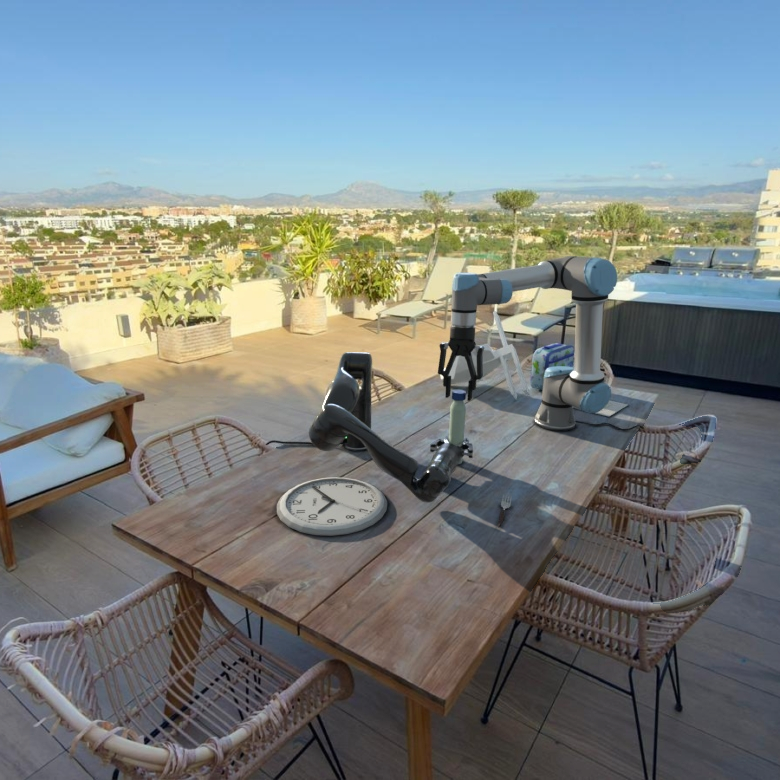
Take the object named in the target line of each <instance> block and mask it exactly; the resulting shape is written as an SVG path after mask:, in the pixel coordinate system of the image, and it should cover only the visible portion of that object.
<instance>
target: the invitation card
mask: <svg viewBox="0 0 780 780" xmlns="http://www.w3.org/2000/svg"><path fill="white" fill-rule="evenodd" d="M628 406H629V404H627V403H623V402H618V401H614V400H609V402H608V403H607V405H606V406H605V407H604V408H603V409H602V410H601V411H599V412H597V413H595V414H596V415H600V416H604V417H608V418H609V417H611V416H613V415H614V414H616V413H617V412H619V411H621V410H623V409H624V408H626V407H628ZM573 409H575V410H579V409H578V408H575V407H573Z"/></svg>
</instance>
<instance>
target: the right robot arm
mask: <svg viewBox="0 0 780 780" xmlns="http://www.w3.org/2000/svg"><path fill="white" fill-rule="evenodd" d="M617 283H618V272H617V269H616V266H615V265H614V264H613V262H611V261H610V260H609V259H607V258H601V257H596V256H595V257H593V256H578V255H577V256H576V255H569V256H562V257H558V258H553V259H548V260H543V261H540V262H539V263H538V264H536V265H530V266H529V265H528V266H524V267H523V266H522V267H516V268H511V269H503V270H498V271H491V272H484V273H475V272H457V273H455V274H454V275H453V278H452V283H451V284H452V285H451V309H450V313H451V314H450V325H451V326H450V327H449V339H448V341H447V342H441V343H439V350H440V353H439V360H438V368H437V374H438V375H439V376H440V375H442V376H443V381H442V386H443V387H444V388H445V398H446V399H448V398H449V397H450V396H451V389H452V384H451V376H449V373H450V371H451V368H452V366H453V363H454V361H455V358H456V356H463V357H465V359H466V362H467V365H468V369H469V373H470V376H471V379H470V380H469V382H468V386H467V402H471V401H472V399H473V391H475V390H476V389H477V383H476V380H478V379H481V378H482V377H483V356H482V354H483V351H484V347H483V346H481V347H480V346H478V345H477V344H476V327H475V325H476V324H477V323H476V322H477V309H478V306H488V305H498V306H500V305H503V304H508V303H510V301H511V300H512V297H513V293H514V292H518V291H519V292H520V291H525V290H531V289H538V288H541V289H543V290H549V289H558V290H565V291H569V292H571V301H573V303H574V304H575V326H574V327H575V332H574V333H575V334H574V363H573V367H567V366H555V367H549V368H547V369H546V370H545V375H544V379H543V390H541V391H542V392H541V402H540V405H539V407H538V410H537V411H536V413H535V416H534V424H535V425H536V426H537V427H539V428H542V429H544V430H549V431H556V432H567V431H572V430H574V429H575V428H576V423H577V424H584V425H588V426H592V427H598V426H603V425H606V426H611V427H612V428H615V429H617V430H620V431H631V430H633V429H635V428H640V429H641V430H642V429H643V430H645V428H644V426H642V425H641V424H635V425H634V426H632V427H628V428H623V427H620V426H617V425H615V424H613V423H609V422H600V423H592V422H587V421H580V420H576V418H575V417H576V416H575V413H574V409H576V408H578V409H577V410H580V411H581V412H583V413H584V412H586V413H588V414H596V413H597V412H599V411H601V410H602V409H603V408H604V407H605V406H606V405H607V403H608V402H609V400H610V399H611V396H612V388H611V387H610V386H609V384H608V383H606V382H605V373H604V372H603V371H602V370H601V361H602V360H601V357H602V339H603V338H602V335H603V313H604V312H603V311H604V303H605V302H606V301H608V299H609V295H610V294H611V293H612V292H614V290H615V287H616V286H617ZM448 349H450V350H451V352H452V353H450V356H449V359H448V361H447V364H446V359H447V350H448ZM473 349H475V350H476V353H477V375H476V371H475V367H474V364H473V360H472V354H471V352H472V351H473ZM445 365H446V367H445ZM444 368H446V369H445V371H444ZM483 378H484V377H483ZM610 401H611V400H610ZM574 407H575V408H574Z"/></svg>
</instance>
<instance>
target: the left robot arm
mask: <svg viewBox="0 0 780 780" xmlns="http://www.w3.org/2000/svg"><path fill="white" fill-rule="evenodd" d="M372 376H373V356H372V354H371V353H369V352H364V351H363V352H361V351H357V352H356V351H346V352H344V353H342V355H341V356H340V358H339V361H338V364H337V368H336V371H335V375H334V377H333V379H332V381H331V382H330V384H329V387H328V388H327V391H326V393H325V397H324V399H323V402H322V405H321V407H320V408H321V409H320V411H319V412H318V414H317V415H316V417H315V419H314V420H313V421H312V423H311V424H310V426H309V429H308V430H309V431H308V437H309V440H310V441H281V440H277V439H276V440H275V439H274V440H273V439H272V440H270V441H267V442H266V443H265V446H269V445H270V444H272V443H273V444H274V443H275V444H282V445H311V446H314V447H315V448H317V449H318V450H320V451H323V452H331V451H334V450H336V449H338V448H339V447H340V446H341V445H342V448H345V449H346V450H349V451H353V452H354V451H355V452H361V451H367V452H368V454H369V455H370V457H371V459H372V461H373V462H374V464H375V465H376V466H377V467H378V468H379V469H380V470H381V471H382V472H384V474H387V475H389V476H390V477H392V478H394V479H395V480H397V481H399V482H400V483H401V484H403V485H404V486H405V487H406V488H407V489H408V490H409V492H410V493H412V495H413V496H414V497H415V498H417V500H419V501H421V502H422V503H426V504H427V503H428V504H429V503H433V502H435V500H437V498H438V497H439V496H440V495H441V494H442V493H443V492H444V491H445V489H447V488H448V486H449V485H450V483H451V481H452V474H453V473H454V472H455V471H456V469H457V467H458V465H459V464H458V463H459V461H460V459H461V457H463V458H464V457H465V456H467V457H468V458H469V459H473V456H474V447H473V443H471V442H470V440H469V439H468V437H464V441H463V442H462V443H458V444H455V445H454V444H451V443H449V435H447V436H445V438H443V439H442V438H437V439H436V440H434V441H432V442H430V445H429V447H430V448H429V452H430V453H434V454H433V456H432V457H431V461H430V462H429V463H428V465H427V467H426V470H425V471H424V472H423V473H422V475H421V476H419V477H417V476H416V474H417V472H418V470H419V463H418V461H417V460H416V459H415V458H413V457H412V456H410V455H409V454H407V453H405V452H404V451H402V450H400V449H398V448H397V447H395V446H393V445H392V444H391V443H389V442H388V441H386V440H385V439H383V438H382V437H381V436H380V435H379V434H378V433H376V432H375V431H374V430H372V381H373V380H372V379H373V377H372ZM358 381H361V382H360V383H359V382H358Z"/></svg>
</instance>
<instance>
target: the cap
mask: <svg viewBox="0 0 780 780" xmlns="http://www.w3.org/2000/svg"><path fill="white" fill-rule="evenodd" d="M466 397H467V393H466V390H463V389H453V390H452V392H451V399H452V400H453V401H454V400H456V401H463V402H464V401H465V400H466Z"/></svg>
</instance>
